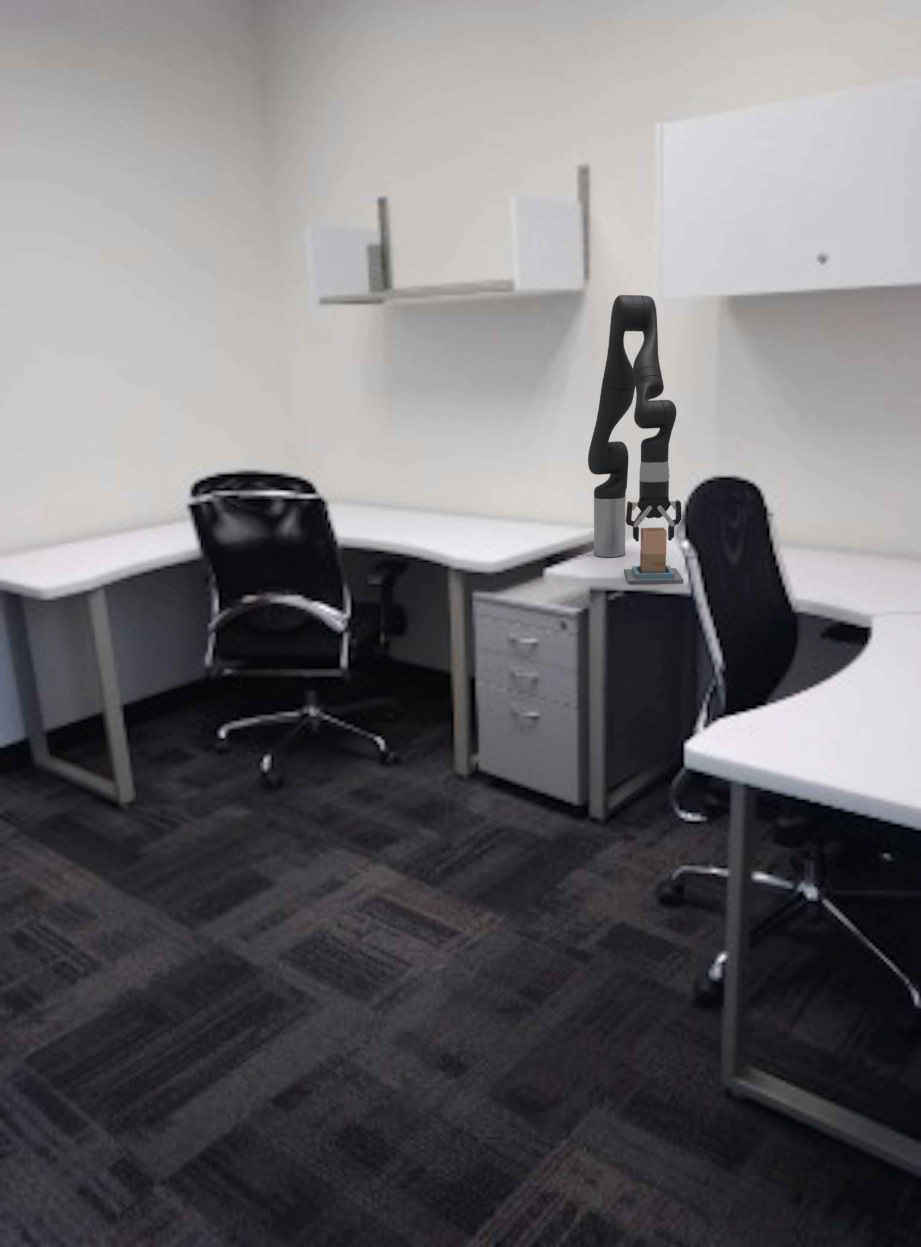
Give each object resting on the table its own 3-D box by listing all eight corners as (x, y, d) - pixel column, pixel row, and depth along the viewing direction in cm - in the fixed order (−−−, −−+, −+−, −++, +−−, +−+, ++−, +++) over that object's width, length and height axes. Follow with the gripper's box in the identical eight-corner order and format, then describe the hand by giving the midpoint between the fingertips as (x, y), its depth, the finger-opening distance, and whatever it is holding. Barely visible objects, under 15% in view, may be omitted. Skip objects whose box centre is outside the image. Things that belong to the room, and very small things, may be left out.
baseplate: (623, 572, 266) (623, 564, 266) (675, 571, 265) (675, 563, 264) (628, 584, 253) (628, 576, 252) (683, 583, 252) (683, 575, 251)
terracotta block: (640, 550, 260) (640, 527, 259) (663, 549, 260) (663, 527, 258) (643, 554, 254) (643, 531, 253) (666, 554, 254) (666, 531, 252)
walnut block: (640, 571, 262) (640, 550, 260) (662, 571, 261) (662, 549, 260) (642, 576, 256) (642, 554, 254) (665, 576, 256) (665, 553, 254)
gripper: (679, 476, 255) (678, 537, 259) (625, 477, 256) (624, 538, 260) (684, 479, 248) (682, 542, 252) (627, 481, 249) (627, 543, 253)
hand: (653, 540), depth 256 cm, fingers open, 8 cm apart
